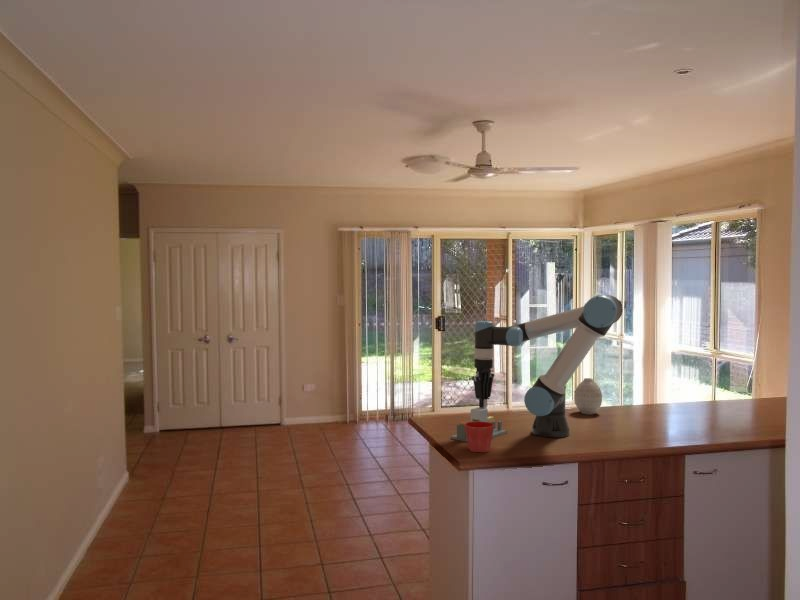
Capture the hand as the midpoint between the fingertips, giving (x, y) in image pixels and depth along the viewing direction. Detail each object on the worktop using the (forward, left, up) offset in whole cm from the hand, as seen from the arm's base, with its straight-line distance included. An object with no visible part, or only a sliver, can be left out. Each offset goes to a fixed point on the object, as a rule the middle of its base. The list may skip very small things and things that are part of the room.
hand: (482, 414), depth 264 cm
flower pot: (-13, +22, -8) cm, 27 cm away
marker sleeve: (0, +3, -5) cm, 6 cm away
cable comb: (-1, +4, -8) cm, 9 cm away
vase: (-15, -68, -8) cm, 70 cm away
